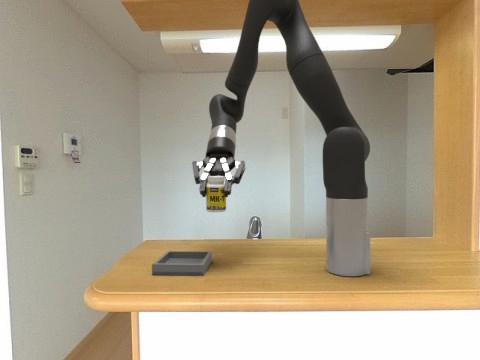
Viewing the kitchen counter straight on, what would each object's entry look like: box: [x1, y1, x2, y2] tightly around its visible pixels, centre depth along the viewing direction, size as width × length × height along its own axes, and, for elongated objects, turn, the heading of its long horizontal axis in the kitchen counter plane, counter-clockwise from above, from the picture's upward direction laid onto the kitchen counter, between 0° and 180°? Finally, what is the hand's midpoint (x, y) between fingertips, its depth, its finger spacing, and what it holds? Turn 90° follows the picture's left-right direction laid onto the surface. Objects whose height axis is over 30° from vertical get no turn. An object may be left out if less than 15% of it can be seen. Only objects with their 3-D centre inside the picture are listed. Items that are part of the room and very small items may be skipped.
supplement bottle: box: [205, 176, 227, 213], centre depth 81 cm, size 5×5×8 cm
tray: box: [151, 250, 213, 277], centre depth 83 cm, size 12×12×2 cm
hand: (214, 194), depth 79 cm, fingers closed on supplement bottle, 4 cm apart
